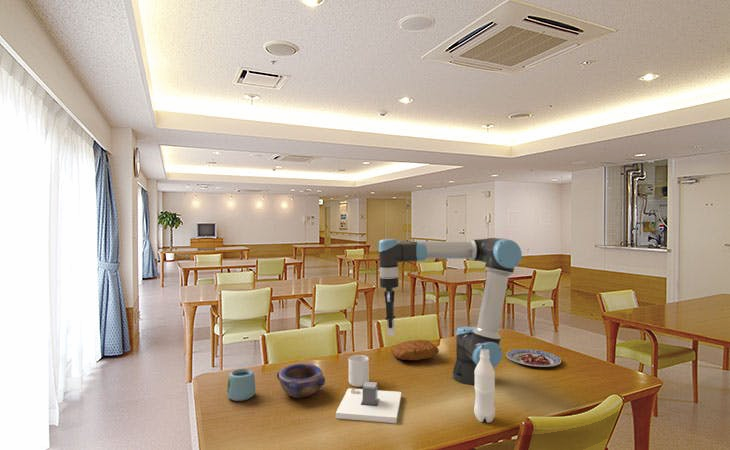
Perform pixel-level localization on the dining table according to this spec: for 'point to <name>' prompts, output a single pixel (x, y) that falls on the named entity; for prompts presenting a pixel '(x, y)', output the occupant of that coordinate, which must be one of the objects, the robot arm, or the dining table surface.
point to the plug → (370, 393)
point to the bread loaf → (414, 350)
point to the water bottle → (484, 388)
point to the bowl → (301, 379)
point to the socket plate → (369, 407)
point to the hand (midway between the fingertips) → (390, 335)
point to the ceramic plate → (533, 358)
